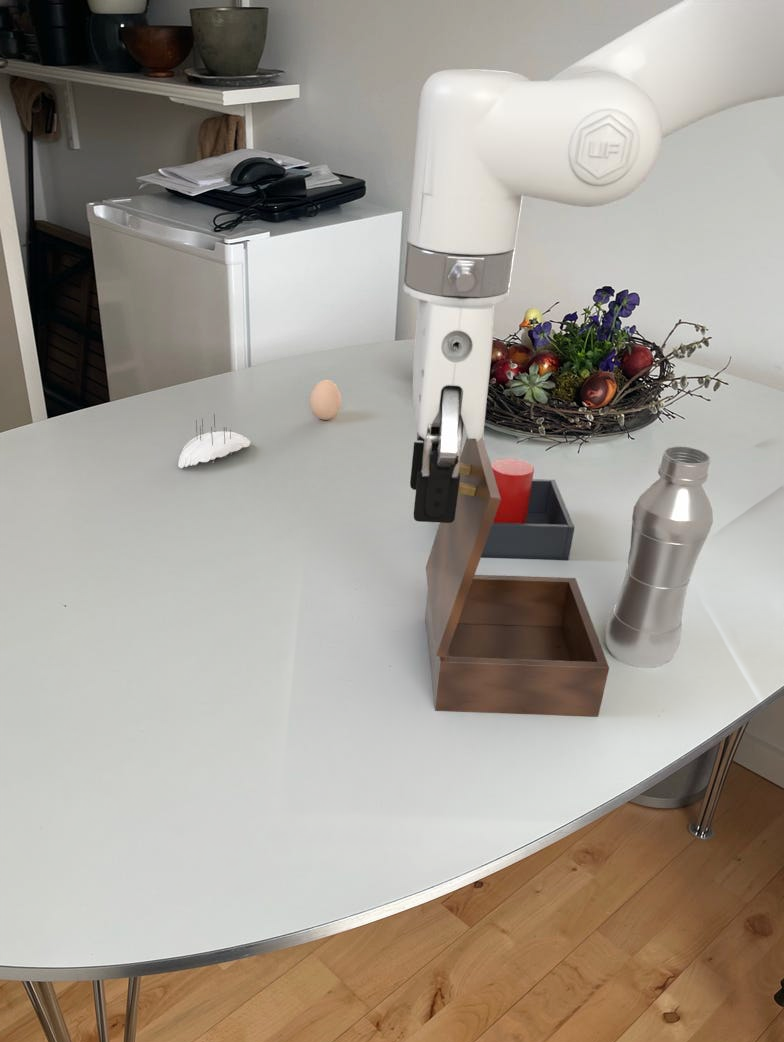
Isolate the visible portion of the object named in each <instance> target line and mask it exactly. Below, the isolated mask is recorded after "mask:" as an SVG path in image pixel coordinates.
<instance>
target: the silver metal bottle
mask: <svg viewBox="0 0 784 1042" xmlns="http://www.w3.org/2000/svg"><path fill="white" fill-rule="evenodd" d="M660 462H661V463H660V464H659V466H658V469H657V474H658V476H659V478H658V479H657V480H656V481H655V482H653V483H652V484H651V485H650V486H648V487H647V488H646V490H644V492H642V493H641V494H640V495H639V498H637V501H636V502H635V504H634V505H633V510H632V517H631V532H630V533H631V534H630V547H629V552H628V558H627V565H626V569H625V575H624V579H623V582H622V584H621V588H620V591H619V594H618V597H617V600H616V602H615V604H614V606H613V608H612V611H611V612H610V615H609V617H608V620H607V622H606V624H605V642H604V643H605V645H606V647H607V649H608V651H609V653H610V654H611V656H613V657H614V658H615V659H616V660H618V661H619V662H621V663H623V664H624V665H628V666H631V667H634V668H638V669H657V668H660V667H663V666H664V665H666V664H667V663H669V662H670V661H672V659H673V658H674V657H675V654H676V653H677V650H678V648H679V646H680V644H681V637H682V617H683V612H684V606H685V602H686V601H685V600H686V595H687V590H688V589H687V588H688V587H689V584H690V581H691V577H692V575H693V572H694V568H695V565H696V562H697V560H698V558H699V555H700V553H701V551H702V549H703V547H704V545H705V542H706V540H707V539H708V536H709V533H710V532H711V529H712V525H713V523H714V517H713V515H714V514H713V507H712V505H711V502H710V499H709V497H708V495H707V493H706V492H705V489H704V487H703V484H704V483H706V482H707V480H708V477H709V476H708V475H709V473H708V471H709V466H710V462H711V456H710V455H709V454H708V453H706V452H705V451H703V450H701V449H698V448H694V447H690V446H681V445H679V446H670V447H667V448H665V449H664V451H663V453H662V457H661V461H660Z"/></svg>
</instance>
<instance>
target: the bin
mask: <svg viewBox="0 0 784 1042" xmlns="http://www.w3.org/2000/svg"><path fill="white" fill-rule="evenodd" d="M574 532H575V525H574V523H573V521H572V518H571V515H570V513H569V510H568V508H567V506H566V503H565V501H564V499H563V496H562V494H561V491H560V489H559V486H558V485H557V481H556V479H545V478H544V479H543V478H541V479H539V478H533V479H532V486H531V492H530V499H529V505H528V512H527V519H526V524H523V523H493V524H492V526H491V529H490V532H489V535H488V538H487V541H486V544H485V547H484V549H483V552H482V555H481V558H480V559H507V560H509V559H510V560H511V559H513V560H539V561H540V560H541V561H542V560H544V561H569V560H570V554H571V548H572V543H573V539H574V538H573V537H574Z"/></svg>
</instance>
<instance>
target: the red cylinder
mask: <svg viewBox="0 0 784 1042" xmlns="http://www.w3.org/2000/svg"><path fill="white" fill-rule="evenodd" d="M491 467H492V470H493V473H494V477H495V480H496V484H497V487H498V491H499V494H500V498H501V501H500V504H499V506H498V509H497V512H496V515H495V518H494V521H493V523H523V524H526V519H527V512H528V505H529V499H530V492H531V486H532V479H534V473H535V467H534V466H533V464H532V463H530V462H528V461H525V460H522V459H518V458H499V459H496V460H494V461H493V462H491Z"/></svg>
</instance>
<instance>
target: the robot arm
mask: <svg viewBox="0 0 784 1042" xmlns="http://www.w3.org/2000/svg"><path fill="white" fill-rule="evenodd" d="M780 97H784V0H682V1H679V2H678V3H676V4H674V5H673V6H670V7H669V8H667V9H666V10H664V11H662V12H660V13H658V14H657V15H655V16H653V17H651V18H649V19H648V20H646V21H644V22H642V23H641V24H638V25H637V26H635V27H634V28H632V29H630V30H628V31H627V32H625V33H623V34H622V35H620V36H618V37H617V38H614V39H613V40H612V41H610V42H608V43H606V44H605V45H603V46H601V47H600V48H598V49H596V50H595V51H593V52H591V53H590V54H588V55H586V56H585V57H583V58H581V59H580V60H577V61H576V62H574V63H573V64H571V65H569V66H568V67H566V68H565V69H563V70H562V71H560V72H559V73H557V74H556V75H555V76H553V77H552V78H551V79H550V80H530V79H529V77H526V76H524V75H523V74H520V73H516V72H512V71H504V70H494V69H473V68H472V69H471V68H453V69H443V70H439V71H437V72H434V73H432V74H431V75H430V76H429V77H428V78H427V80H426V81H425V82H424V84H423V86H422V88H421V93H420V97H419V102H418V103H419V104H418V113H417V124H416V135H415V147H414V148H415V149H414V158H413V159H414V161H413V172H412V173H413V174H412V185H411V195H410V206H409V219H408V230H407V241H406V252H405V253H406V254H405V264H404V277H403V288H402V290H403V292H404V293H405V294H406V295H408V296H409V297H411V298H413V299H416V300H418V302H417V311H416V312H417V313H416V324H415V335H414V348H413V362H412V403H413V405H412V406H413V413H414V421H415V428H416V441H414V442H413V449H412V459H411V460H412V461H411V471H410V479H409V480H410V481H409V484H410V485H409V486H410V489H412V490H413V491H415V497H414V506H413V519H414V521H416V522H421V523H424V522H425V523H439V524H440V523H451V522H453V521H454V519H455V512H456V505H457V497H458V489H459V482H460V473H459V469H460V458H461V454H462V447H463V436H464V430H465V434H466V438H467V437H468V439H473V442H478V441H479V440H480V439H481V438H482V437H483V438H484V434H485V433H484V432H485V424H486V423H485V422H486V413H487V403H488V402H487V401H488V400H487V399H488V394H489V393H488V392H489V385H490V384H489V383H490V376H491V375H490V373H491V365H492V355H493V354H492V353H493V343H494V328H495V327H494V324H495V304H499V303H503V302H505V301H506V300H507V299H508V298H509V294H510V286H511V281H512V280H511V279H512V274H513V273H512V272H513V266H514V259H515V253H516V252H515V251H516V245H517V238H518V230H519V224H520V217H521V211H522V203H523V196H524V197H528V198H532V199H533V198H534V199H538V200H545V201H549V202H553V203H556V204H557V203H558V204H561V205H562V204H564V205H568V206H573V207H577V208H578V207H580V208H599V207H604V206H608V205H611V204H615V203H617V202H620V201H621V200H623V199H625V198H627V197H629V196H630V195H631V194H632V193H634V192H635V191H637V189H639V188H640V187H641V186H642V185H643V184H644V183H645V182H646V180H647V179H648V177H649V176H650V175H651V173H652V171H653V169H654V168H655V166H656V163H657V161H658V158H659V155H660V151H661V146H662V141H663V139H664V138H667V137H668V136H670V135H672V134H675V133H676V132H678V131H680V130H682V129H684V128H686V127H688V126H690V125H693V124H695V123H697V122H698V121H702V120H703V119H707V118H708V117H710V116H713V115H716V114H718V113H722V112H724V111H727V110H729V109H732V108H735V107H739V106H742V105H745V104H748V103H753V102H757V101H762V100H767V99H774V98H780ZM431 452H433V453H432V454H431Z"/></svg>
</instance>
